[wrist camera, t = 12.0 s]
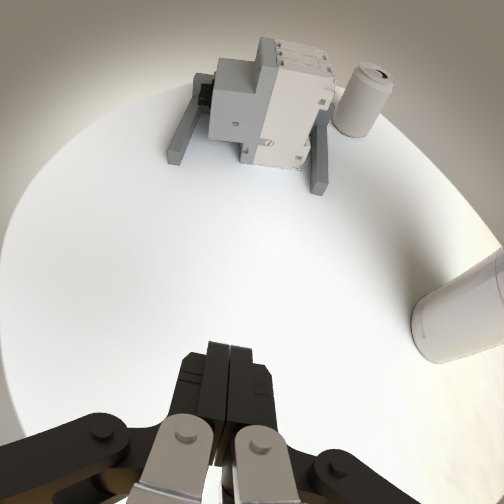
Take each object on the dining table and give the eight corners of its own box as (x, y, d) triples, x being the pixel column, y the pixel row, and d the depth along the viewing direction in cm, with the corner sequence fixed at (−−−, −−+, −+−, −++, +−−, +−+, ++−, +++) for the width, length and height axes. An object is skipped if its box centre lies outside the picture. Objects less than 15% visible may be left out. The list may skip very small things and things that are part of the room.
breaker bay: (321, 131, 46) (335, 100, 40) (321, 196, 40) (340, 162, 34) (194, 104, 44) (196, 69, 39) (168, 163, 38) (166, 125, 33)
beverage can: (371, 142, 48) (404, 88, 37) (338, 139, 46) (368, 80, 36) (357, 117, 50) (384, 65, 40) (325, 113, 49) (350, 56, 38)
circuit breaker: (199, 122, 43) (207, 30, 30) (295, 133, 45) (327, 50, 32) (192, 158, 39) (199, 58, 26) (300, 170, 42) (340, 81, 28)
